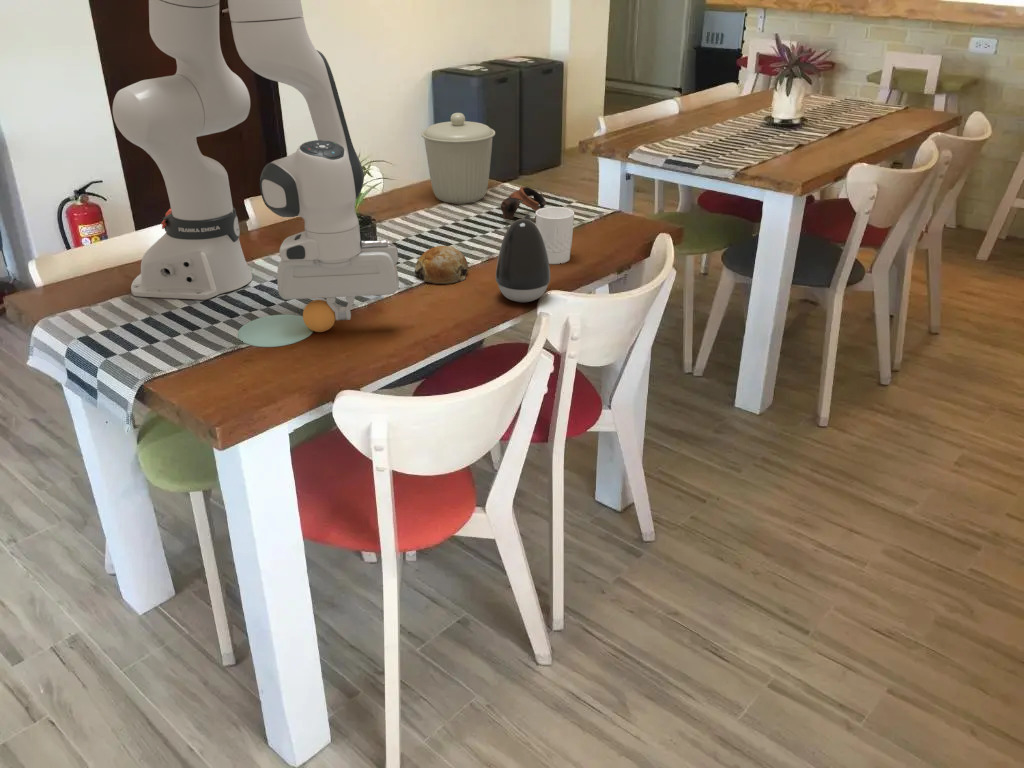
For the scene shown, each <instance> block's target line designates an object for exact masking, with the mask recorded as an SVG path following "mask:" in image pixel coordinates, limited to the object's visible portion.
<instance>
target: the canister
mask: <svg viewBox="0 0 1024 768" xmlns="http://www.w3.org/2000/svg"><path fill="white" fill-rule="evenodd" d="M420 134H421V137H422V138H423V139H424V146H425V152H426V159H427V165H428V172H429V177H430V183H431V187H432V192H433V195H434V196H435V197H436V198H437V200H439V201H442V202H444V203H447V204H462V205H463V204H472V203H475V202H478V201H480V200H482V199H483V198H484V197H485V195H486V194H487V191H488V187H489V180H490V171H491V160H492V149H493V137H494V136H495V135H496V131H495V130H494V129H493V128H491V127H489V125H487V124H484V123H481V122H478V121H477V122H476V121H467V120H466V117H465V115H464V113H462V112H455V113H454V112H453V114H451V115H450V121H444V122H443V121H442V122H438V123H437V122H436V123H434V124H432V125H429V126H428V127H427V128H425V129H424V130H423V131H421V133H420Z"/></svg>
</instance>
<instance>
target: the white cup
mask: <svg viewBox="0 0 1024 768" xmlns="http://www.w3.org/2000/svg"><path fill="white" fill-rule="evenodd" d="M535 216H536V221H535V225H536V226H537V228H538V229H539V231H540V233H541V235H542V238H543V241H544V244H545V248H546V251H547V256H548V261H549V265H561V264H565V263H567V262H569V261H570V259H571V251H572V250H571V248H572V244H573V243H572V242H573V235H574V233H573V232H574V220H575V219H574V218H575V212H574V210H573V209H570V208H567V207H563V206H562V207H561V206H547V207H544V208H541V209H539V210H537V211H535ZM560 263H561V264H560Z"/></svg>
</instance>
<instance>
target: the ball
mask: <svg viewBox="0 0 1024 768" xmlns="http://www.w3.org/2000/svg"><path fill="white" fill-rule="evenodd" d="M302 317H303V320H304V323H305V324H306V326H307V327H308V328H309V329H311V330H312V331H313V332H315V333H324V332H327V331H328V330H330V329H331V328H332V327H333V326H334V325H335V323H336V321H337V320H336V318H335V312H334V311H333V310H332V309H331V308H330V306H329V305H328V304H327V300H324V299H314V300H311V301H309V302H308V303H307V304H306V305H305V307H304V308H303V311H302Z"/></svg>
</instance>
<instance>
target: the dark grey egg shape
mask: <svg viewBox="0 0 1024 768" xmlns="http://www.w3.org/2000/svg"><path fill="white" fill-rule="evenodd" d="M499 249H500V250H499V253H498V257H497V261H496V268H495V269H496V270H495V282H496V283H497V285H498V289H499V291H500V292H501V293H502V295H503V296H504V297H505V298H506V299H508V300H510V301H513V302H516V303H529V302H530V303H531V302H533V301H535V300H536V301H537V300H538V299H539V298H541V297H542V296H543V295H544V294H545V292H546V290H547V289H548V286H549V283H550V281H551V269H550V264H549V261H548V256H547V251H546V248H545V244H544V241H543V238H542V235H541V233H540V231H539V229H538V228H537V226H536V223H534V222H533V221H532V220H531V217H530V216H529V215H528V214H527V215H525V216H524V218H518V219H515V220H514V221H513V222H511V224H510V225H509V226H508V228H507V230H506V231H505V234H504V237H503V239H502V242H501V246H500V248H499Z"/></svg>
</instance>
